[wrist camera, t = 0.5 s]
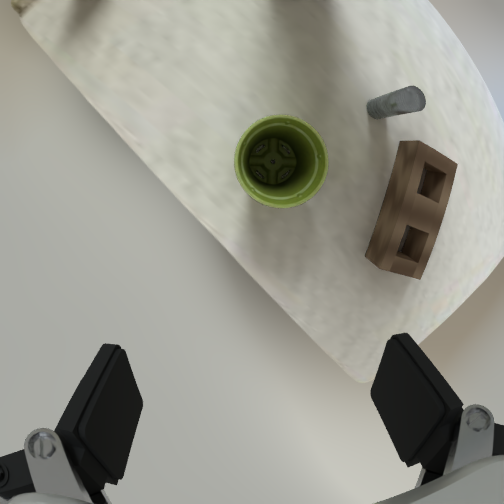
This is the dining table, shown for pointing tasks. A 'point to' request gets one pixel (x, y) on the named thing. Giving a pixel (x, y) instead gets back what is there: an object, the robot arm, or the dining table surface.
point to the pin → (397, 103)
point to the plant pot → (281, 161)
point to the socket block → (412, 209)
